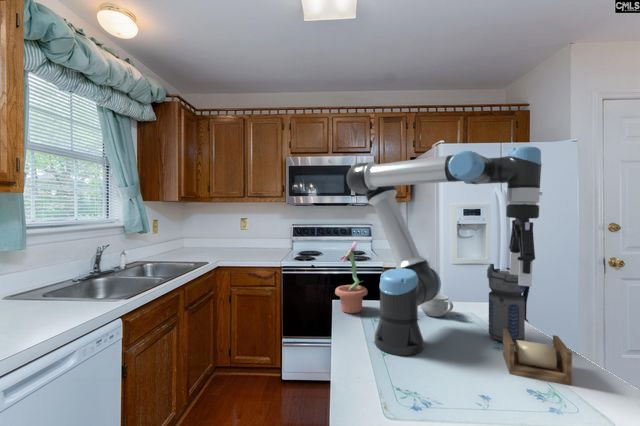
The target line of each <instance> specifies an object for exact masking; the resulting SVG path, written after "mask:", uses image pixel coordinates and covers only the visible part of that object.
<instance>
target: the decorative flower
mask: <svg viewBox="0 0 640 426" xmlns="http://www.w3.org/2000/svg"><path fill="white" fill-rule="evenodd" d="M356 247H357V241H353V242H352V245H351V248H350V249H349V250H348V252H347V253H346V254H345V256H344V257H343V258H342V260H341V264H344V263H346V262H347V261H348V258H349V260H350V261H349V262H350V264H351V268H350V271H349V273H350V274H351V273H352V279H353V282H354V283H353V284H346V285H340V286H338V287H336V288H335V291H334V294H335V296H338V297H339V300H340V308H341V311H342V312H344V313H345V312H346V314H358V313H360V312H362V310H363V298H364V297H365V296H367V295H368V289H367V288H366V286H363V285H359V284H360V283H362V282H363V280H361V281H360V279H359V278H358V277H357V264H356V261H355V254H354V251H355V250H356Z"/></svg>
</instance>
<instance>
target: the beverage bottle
mask: <svg viewBox="0 0 640 426" xmlns="http://www.w3.org/2000/svg"><path fill="white" fill-rule="evenodd" d="M505 269H506V270H501V268H495V263H489V266H488V268H487V270H486V277H487V279H488V280H487V281H488V288H489V289H490V290H491V291H490V292H488V334H489V335H490V337H491V338H492V339H493V340H496V341H497V342H501V343H503V328H505V329H507V330H508V332H509V334H510V336H511V339H512V341H513V343H514V345H515V342H516V340H521V341H525V338H526V337H525V325H526V323H525V321H526V322H527V323H529V320H528V318H527V304H528V303H527V302H528V297H529V292H530V288H531V286H522V285H518V280H519V275H512V274H510V267H505ZM507 270H508V271H507Z"/></svg>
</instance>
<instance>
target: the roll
mask: <svg viewBox="0 0 640 426" xmlns="http://www.w3.org/2000/svg"><path fill="white" fill-rule="evenodd" d="M514 351H515V353H516V360H517V363H519V364H524V365H530V366H535V367H541V368H547V369H552V370H555V369H556V365H557V359H556V352H555V349H554V347H553V344H546V343H539V342H534V341H528V340H527V341H526V340H524V341H521V340H516V342H515V344H514Z"/></svg>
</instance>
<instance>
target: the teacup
mask: <svg viewBox="0 0 640 426" xmlns="http://www.w3.org/2000/svg"><path fill="white" fill-rule="evenodd" d="M420 308H421V310H422V312H423V313H424V314H425V315H427V316H429V317H430V316H431V317H435V318H437V317H438V318H439V317H443V316H445V315H446V314H447V313H449V312H451V311H452V310H453V309H454V304H453V302H452V301H451V300H449V296H447V295H445V294H443V293H442V294H441V293H438V295H437V296H436V297H434V298H433V299H432V300H431V301H428V302H425V303H423V304H421V305H420Z"/></svg>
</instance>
